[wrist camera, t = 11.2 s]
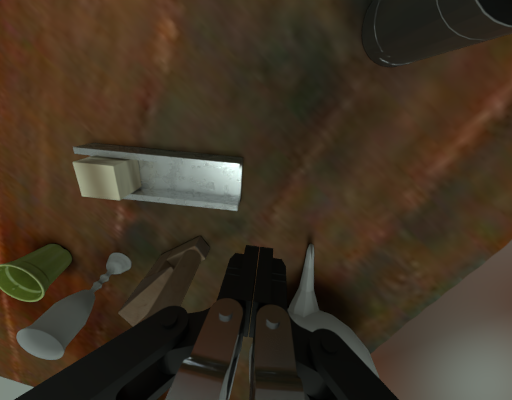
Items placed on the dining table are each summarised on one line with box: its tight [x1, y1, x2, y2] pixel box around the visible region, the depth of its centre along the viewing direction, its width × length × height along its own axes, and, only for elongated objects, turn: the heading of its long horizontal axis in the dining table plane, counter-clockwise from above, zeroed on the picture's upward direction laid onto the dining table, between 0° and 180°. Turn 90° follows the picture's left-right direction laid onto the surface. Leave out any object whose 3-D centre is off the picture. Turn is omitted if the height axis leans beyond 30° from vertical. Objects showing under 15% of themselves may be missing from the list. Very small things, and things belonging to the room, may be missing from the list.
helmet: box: [249, 244, 379, 378], centre depth 35 cm, size 24×30×35 cm
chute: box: [73, 143, 243, 211], centre depth 36 cm, size 26×8×4 cm, turn 85°
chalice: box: [17, 253, 131, 360], centre depth 40 cm, size 7×7×18 cm
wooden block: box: [118, 236, 210, 326], centre depth 37 cm, size 4×11×18 cm, turn 120°
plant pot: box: [0, 244, 72, 302], centre depth 44 cm, size 9×9×9 cm
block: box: [73, 156, 142, 200], centre depth 35 cm, size 6×5×6 cm
